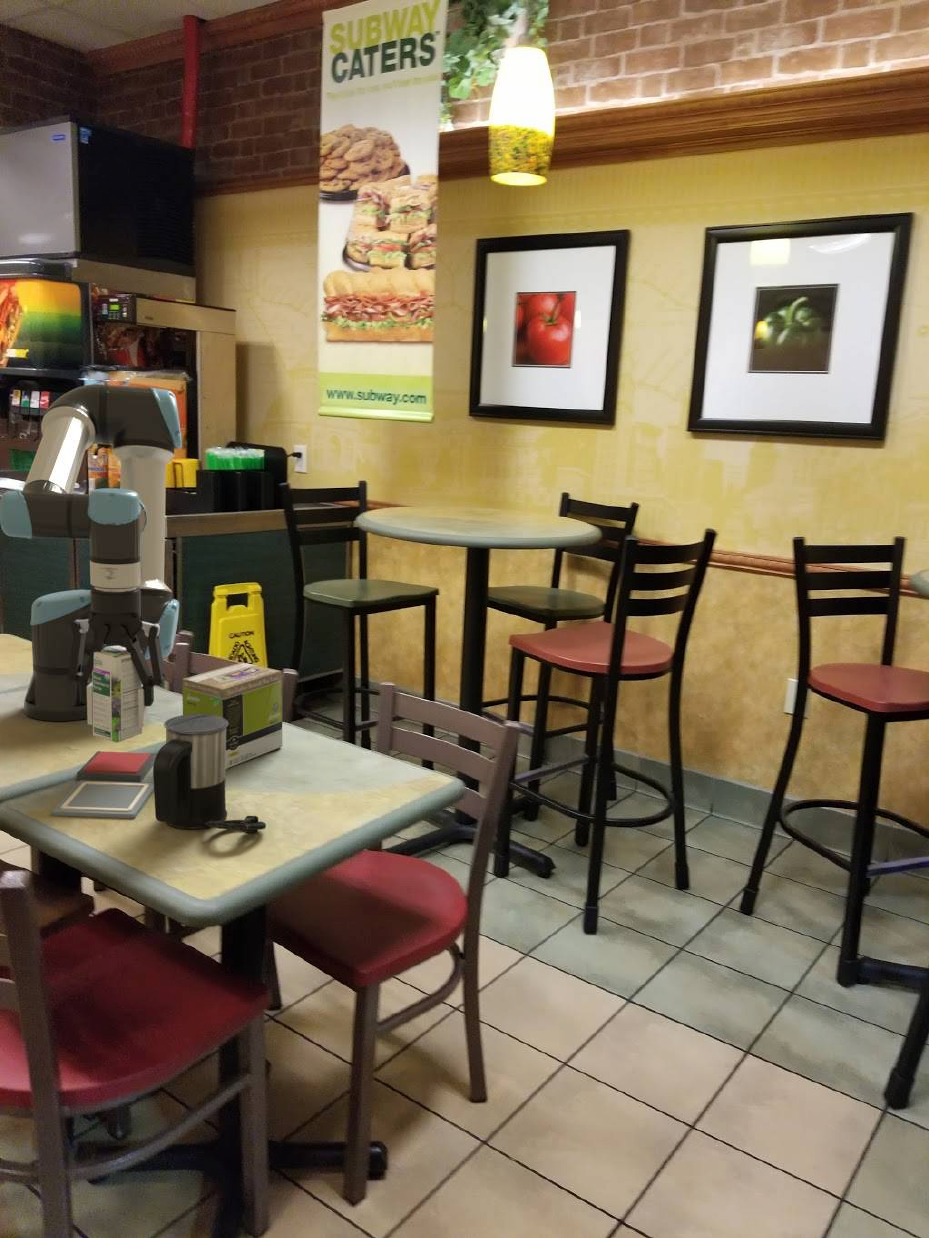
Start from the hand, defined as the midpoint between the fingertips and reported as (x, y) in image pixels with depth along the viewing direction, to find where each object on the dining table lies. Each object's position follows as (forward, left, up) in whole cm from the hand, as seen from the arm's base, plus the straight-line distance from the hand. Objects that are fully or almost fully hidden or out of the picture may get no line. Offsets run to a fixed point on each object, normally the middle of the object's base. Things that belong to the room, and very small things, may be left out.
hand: (118, 722), depth 153 cm
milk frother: (+20, +20, -8) cm, 29 cm away
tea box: (-10, +17, -8) cm, 21 cm away
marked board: (+13, +2, -8) cm, 15 cm away
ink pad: (0, 0, -8) cm, 8 cm away
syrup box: (0, 0, -2) cm, 2 cm away
